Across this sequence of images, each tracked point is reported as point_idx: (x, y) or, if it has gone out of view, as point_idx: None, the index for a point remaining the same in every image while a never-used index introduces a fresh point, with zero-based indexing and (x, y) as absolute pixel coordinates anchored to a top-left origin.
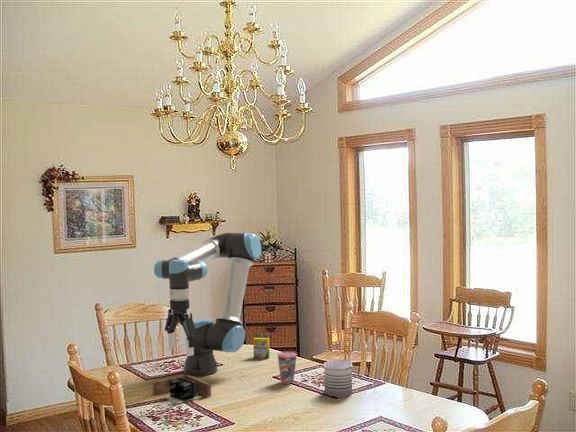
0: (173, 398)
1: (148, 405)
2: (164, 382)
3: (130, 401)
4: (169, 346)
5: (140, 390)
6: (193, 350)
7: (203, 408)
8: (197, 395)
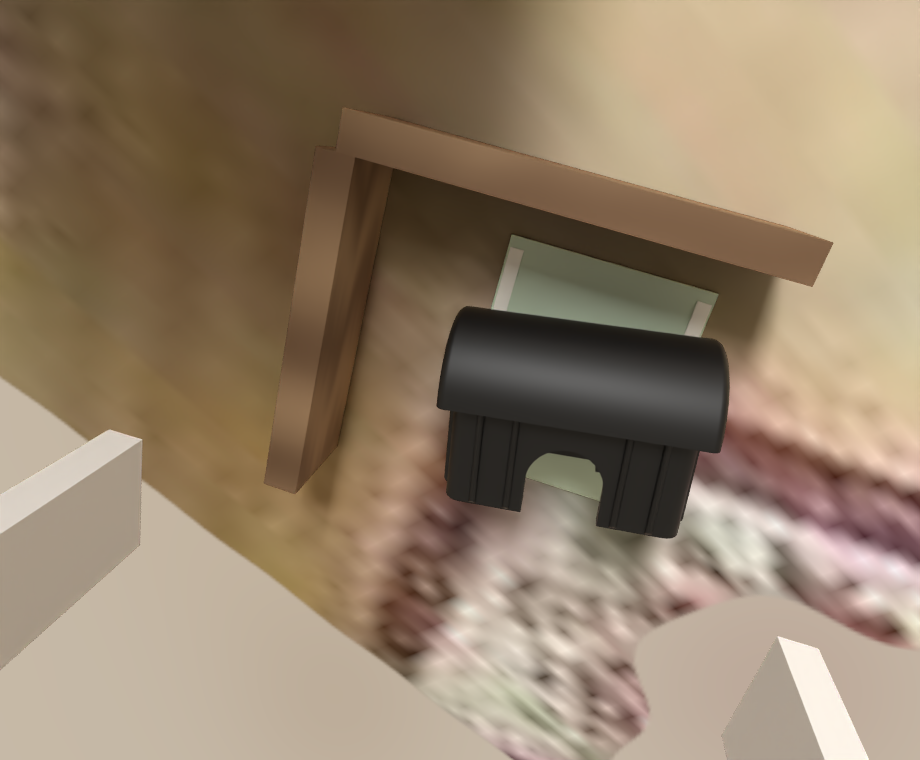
0: None
1: (475, 616)
2: (318, 399)
3: (315, 605)
4: (91, 586)
5: (166, 411)
6: (856, 742)
7: (915, 504)
8: (651, 284)
